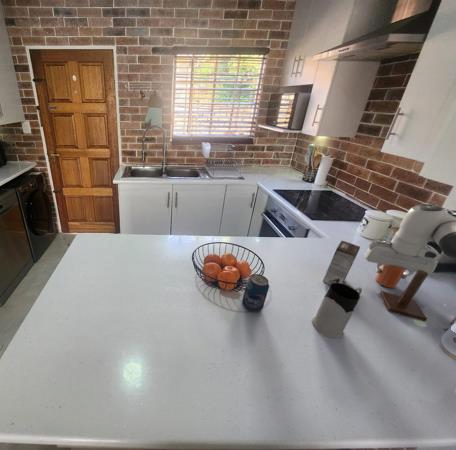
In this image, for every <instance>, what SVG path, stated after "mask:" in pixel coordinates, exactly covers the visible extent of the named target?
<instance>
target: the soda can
mask: <svg viewBox="0 0 456 450" xmlns="http://www.w3.org/2000/svg"><path fill="white" fill-rule="evenodd" d="M269 289H270V284H269V279H268V278H267V277H265V276H264V275H262V274H258V273H254V274H251V275H250V276H249V278H247V281H246V284H245V287H244V292H243V296H242V300H241V302H242V305H243V307H244V309H245V310H246V311H248V312H250V313H255V314H256V313H259V312H261V311H262V310H263V308H264V305H265V303H266V299H267V295H268V293H269Z"/></svg>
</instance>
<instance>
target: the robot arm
mask: <svg viewBox="0 0 456 450" xmlns="http://www.w3.org/2000/svg"><path fill="white" fill-rule="evenodd" d="M430 242H431V243H435V244H436V245H438V247H439V248H440V249H441V251H442V253H443V254H444V255H446V256H447V257H449V258H450V259H454V260H456V216H454V215H451V214H450V213H449V212H447V211H446V210H444V208H443V207H442V206H439V205H434V204H426V203H425V204H417V205H413V206H412V207H411V208H410V209H408V211H407V212H406V214H405V215H404V217H403V219H402V220H401V222H400V224H399V229H398V232H396V231H395V234H394V235H393V237H392V239H391V241H384V240H380V239H379V240H373V241H371V242H370V243H369V246H368V248H367V250H366V251H365V253H364V255H363V256H364V259H365V260H366V261H367V262H368V263H373V264H375V267H376V268H375V271H374V272H375V274H378V273H380V274H381V272H382V271H383V270H382V269H381V268H380V267H381V266H382V265H387V266H388V265H392V266H396V267H401V268H406V271H405V272H404V274H403V276H402V277H401V279H402V280H407V278H408V277H409V276H412V275H414V274H415V273H416V272H417V271H418V270H422V271H425V272H427V273H428V275H430V274H433V273H434V271H435V270H436V268H437V266H438V259H439V258H441V254H440V253H439V252H438V250H436V249H435V248H434V247H432V245H429V244H428V243H430Z"/></svg>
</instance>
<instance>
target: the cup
mask: <svg viewBox="0 0 456 450" xmlns="http://www.w3.org/2000/svg"><path fill="white" fill-rule="evenodd" d="M381 269H382V270H383V271H382V272H381V274H380V273H377V275H376V277H375V281H376V282H377V283H378V284H380V285H382V286H384V287H385V288H386V287H387V288H390V289H394V288H396V287H397V286H398V285H399V283H400V281H401V279H402V278H401V277H402V276H403V274H404V273H405V272H406V271H407V270H406V268H401V267H396V266H392V265H388V266H387V265H383V266H382V268H381Z"/></svg>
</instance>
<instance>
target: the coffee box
mask: <svg viewBox="0 0 456 450" xmlns="http://www.w3.org/2000/svg"><path fill="white" fill-rule="evenodd" d="M360 249H361V246H359V245H357V244H354V243H351V242H348V241H346V240H340V241H339V244H338V245H337V247H336V249H335V252H334V254H333V256H332V259H331V261H330V263H329V265H328V268H327V270H326V272H325V275H324V277H323V279H322V283H325V284H327V285H329V286H330V285H331V284H332V283H341V284H344V282H345V281H346V279H347V276H348V275H349V272H350V270H351V268H352V267H353V264H354V262H355V260H356V258H357V257H358V254H359V251H360Z"/></svg>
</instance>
